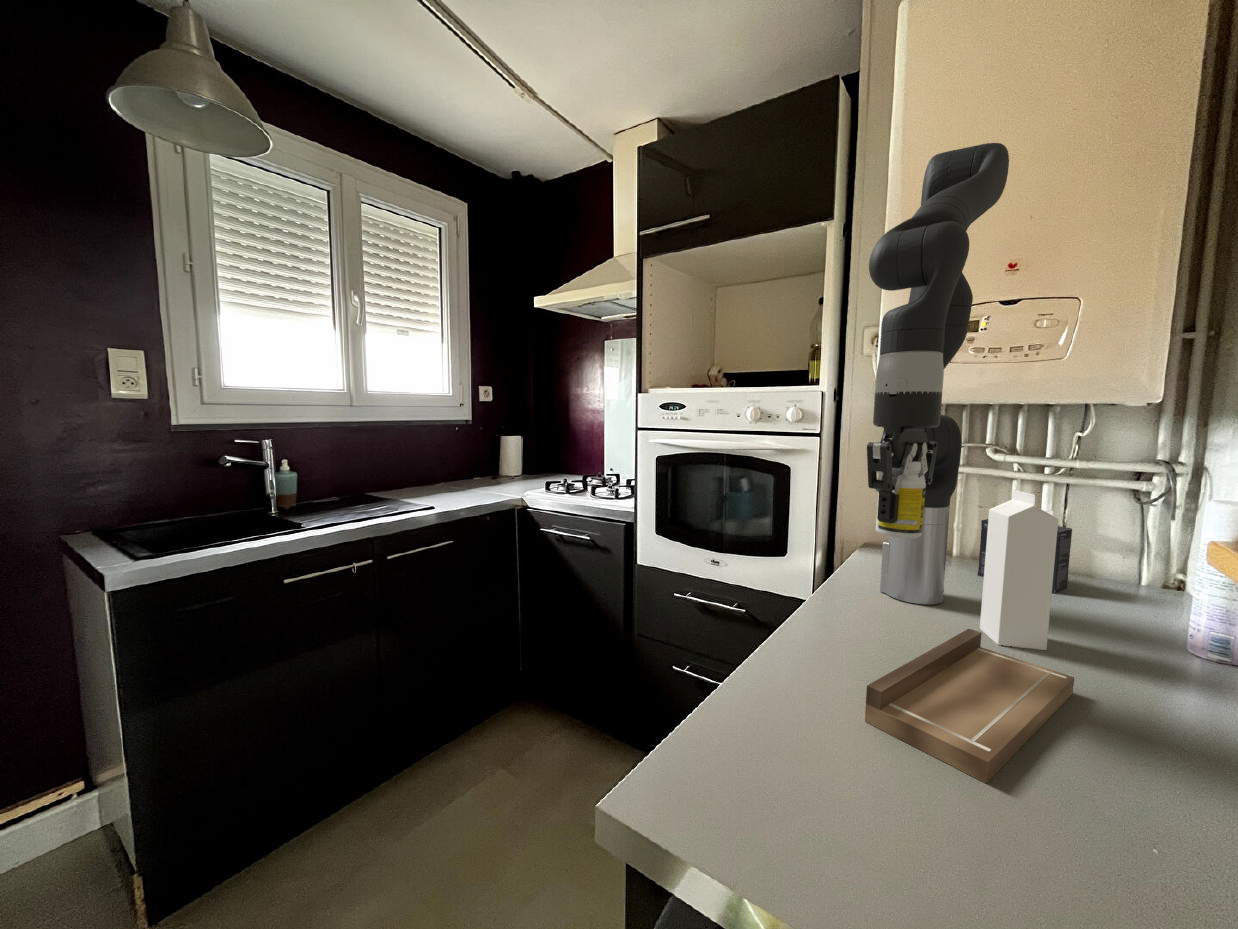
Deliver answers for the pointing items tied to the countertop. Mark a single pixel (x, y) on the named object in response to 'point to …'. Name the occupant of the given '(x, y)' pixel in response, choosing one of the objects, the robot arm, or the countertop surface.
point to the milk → (1018, 573)
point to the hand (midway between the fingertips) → (898, 519)
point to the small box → (1060, 555)
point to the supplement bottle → (907, 507)
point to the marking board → (966, 704)
